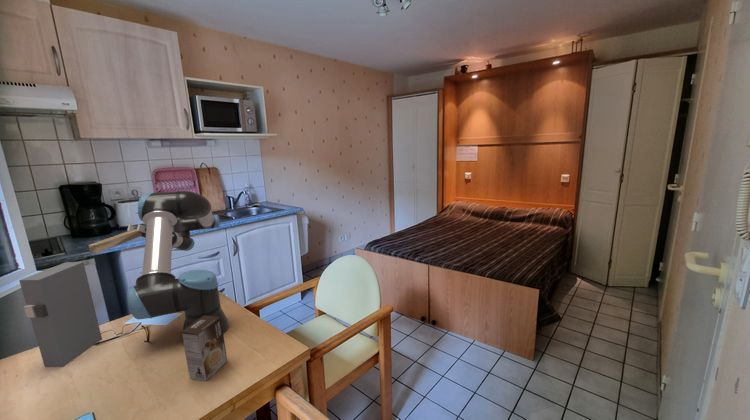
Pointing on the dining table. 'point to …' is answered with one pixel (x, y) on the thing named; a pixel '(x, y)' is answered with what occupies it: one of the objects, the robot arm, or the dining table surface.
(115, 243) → the wooden bar
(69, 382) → the dining table surface
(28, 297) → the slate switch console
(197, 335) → the coffee box
